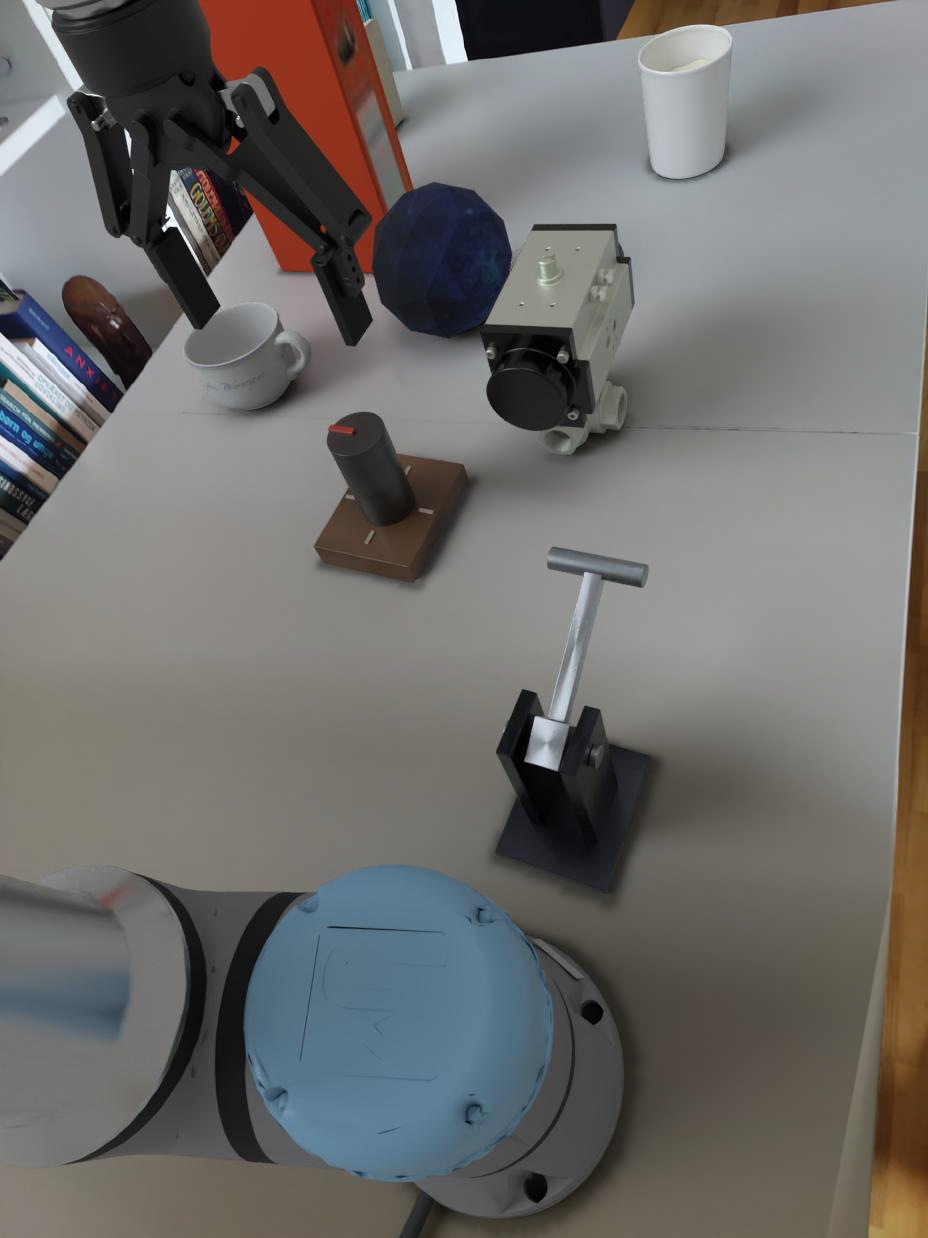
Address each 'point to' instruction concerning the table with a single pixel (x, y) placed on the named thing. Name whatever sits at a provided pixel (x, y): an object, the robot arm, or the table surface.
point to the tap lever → (576, 647)
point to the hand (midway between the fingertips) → (280, 325)
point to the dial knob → (371, 467)
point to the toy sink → (384, 69)
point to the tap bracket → (569, 799)
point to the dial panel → (395, 524)
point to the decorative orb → (440, 259)
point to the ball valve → (561, 334)
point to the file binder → (317, 101)
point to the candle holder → (686, 98)
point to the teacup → (245, 355)
